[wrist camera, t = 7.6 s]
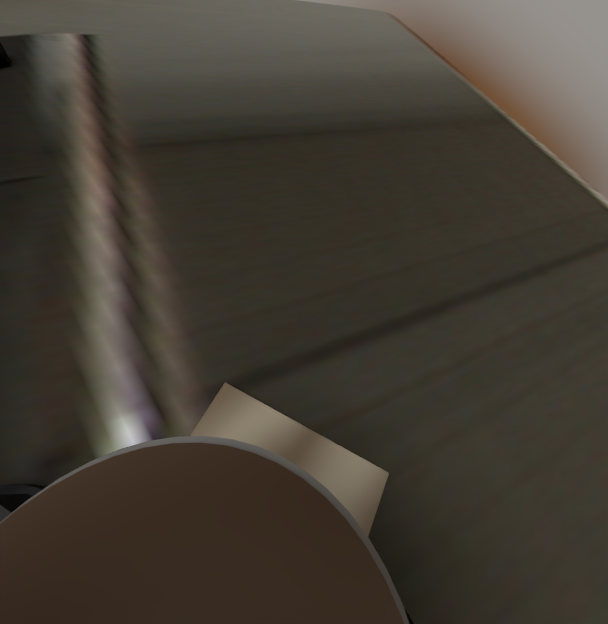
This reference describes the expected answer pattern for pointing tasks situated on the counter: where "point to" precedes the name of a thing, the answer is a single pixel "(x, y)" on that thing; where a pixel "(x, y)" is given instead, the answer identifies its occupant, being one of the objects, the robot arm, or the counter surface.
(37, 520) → the tapered cup
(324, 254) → the counter surface
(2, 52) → the door handle
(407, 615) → the robot arm
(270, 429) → the beige cloth napkin
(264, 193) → the counter surface
